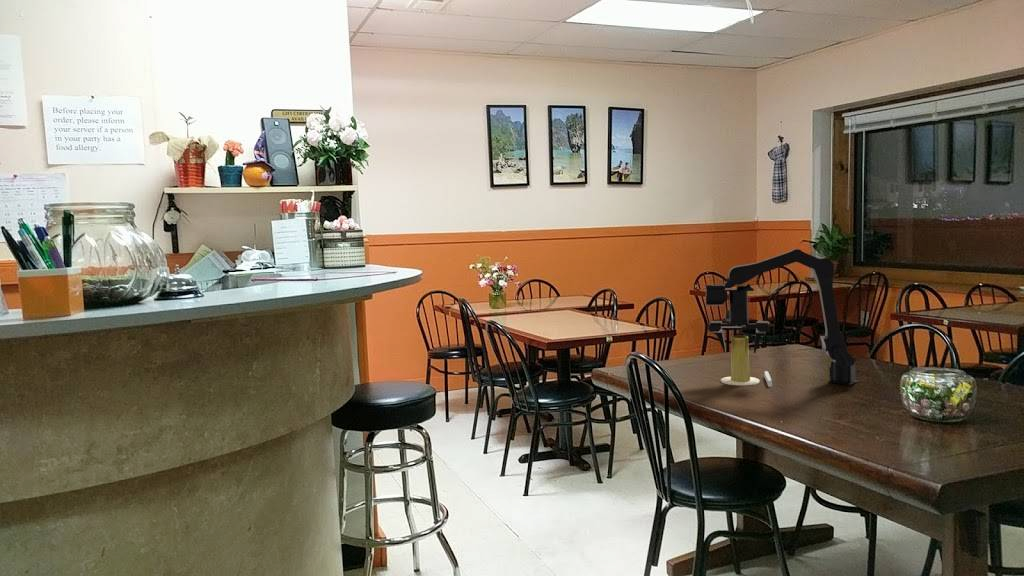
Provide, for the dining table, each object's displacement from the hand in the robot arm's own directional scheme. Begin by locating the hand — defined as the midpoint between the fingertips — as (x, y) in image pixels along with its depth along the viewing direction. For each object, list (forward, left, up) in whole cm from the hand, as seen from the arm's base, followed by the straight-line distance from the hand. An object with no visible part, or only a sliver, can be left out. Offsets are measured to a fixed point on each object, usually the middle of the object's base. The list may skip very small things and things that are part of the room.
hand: (739, 352), depth 225 cm
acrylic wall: (-7, -5, -10) cm, 13 cm away
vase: (0, 0, -9) cm, 9 cm away
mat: (0, 0, -10) cm, 10 cm away
